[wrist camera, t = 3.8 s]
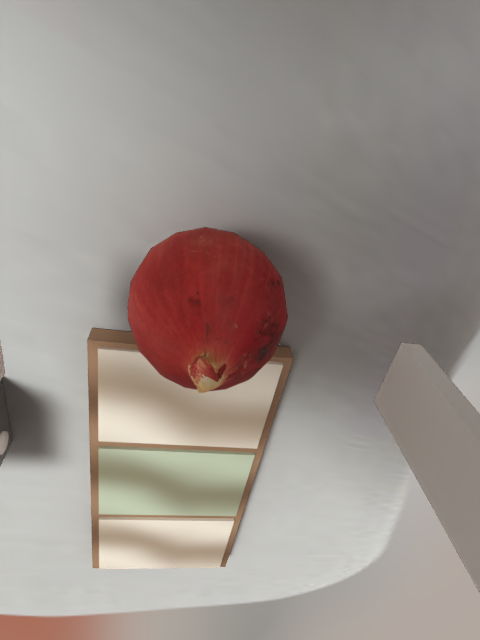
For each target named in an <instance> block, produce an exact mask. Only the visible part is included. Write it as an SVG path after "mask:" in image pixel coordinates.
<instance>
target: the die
mask: <svg viewBox="0 0 480 640" xmlns="http://www.w3.org/2000/svg"><path fill="white" fill-rule="evenodd" d="M12 441H13V440H12V434H11V429H10V423H9V417H8V411H7V405H6V400H5V394H4V388H3V382H2V379H1V381H0V466H1V463H2V461H3V459H4V457H5V455H6V453H7V451H8V449H9V447H10V445H11V443H12Z"/></svg>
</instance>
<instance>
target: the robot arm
mask: <svg viewBox="0 0 480 640" xmlns="http://www.w3.org/2000/svg"><path fill="white" fill-rule="evenodd" d="M4 374H5V368H4V362H3V355H2V349H1V342H0V381H1V379H2V377H3V376H4ZM374 402H375V404H376V406H377V408H378V410H379V411H380V413H381V415H382V417H383V419H384V421H385V422H386V424H387V426H388V428H389V430H390V431H391V433H392V435H393V437H394V439H395V440H396V442H397V444H398V446H399V448H400V450H401V451H402V453H403V455H404V457H405V459H406V460H407V462H408V464H409V466H410V468H411V469H412V471H413V473H414V475H415V477H416V479H417V480H418V482H419V484H420V486H421V488H422V489H423V491H424V493H425V495H426V496H427V498H428V500H429V502H430V504H431V506H432V508H433V509H434V511H435V513H436V515H437V517H438V518H439V520H440V522H441V524H442V526H443V527H444V529H445V531H446V533H447V535H448V537H449V538H450V540H451V542H452V544H453V546H454V547H455V549H456V551H457V553H458V555H459V556H460V558H461V560H462V562H463V564H464V566H465V567H466V569H467V571H468V573H469V575H470V576H471V578H472V580H473V582H474V584H475V585H476V587H477V589H478V591H479V592H480V414H479V413H478V412H477V411H476V409H475V408H474V407H473V406H472V404H471V403H470V402H469V401H468V400H467V399H466V397H465V396H464V395H463V394H462V393H461V391H460V390H459V389H458V388H457V387H456V386H455V384H454V383H453V382H452V381H451V380H450V378H449V377H448V376H447V375H446V374H445V373H444V371H443V370H442V369H441V368H440V367H439V365H438V364H437V363H436V362H435V361H434V360H433V358H432V357H431V356H430V355H429V354H428V352H427V351H426V350H425V349H424V348H423V346H422V345H418V344H409V343H401V345H400V347H399V349H398V351H397V353H396V355H395V357H394V359H393V361H392V364H391V366H390V368H389V370H388V372H387V374H386V376H385V378H384V380H383V382H382V384H381V386H380V389H379V391H378V393H377V395H376V397H375V399H374Z"/></svg>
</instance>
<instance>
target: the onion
mask: <svg viewBox="0 0 480 640" xmlns="http://www.w3.org/2000/svg"><path fill="white" fill-rule="evenodd" d="M287 318H288V316H287V308H286V301H285V293H284V286H283V281H282V277H281V276H280V274H279V273H278V271H277V270H276V269H275V267H274V266H273V264H272V263H271V262H270V260H269V259H268V257H267V256H266V255H265V253H264V252H262V251H261V250H260V249H258V248H257V247H255V246H254V245H252V244H251V243H249V242H248V241H246V240H244V239H243V238H241V237H240V236H238V235H237V234H235V233H232V232H227V231H222V230H217V229H212V228H207V227H204V228H199V229H194V230H189V231H183V232H178V233H175V234H174V235H172V236H170V237H169V238H167V239H165V240H164V241H162V242H161V243H159V244H157V245H156V246H154V247H152V248H151V249H150V251H149V252H148V254H147V256H146V257H145V259H144V260H143V262H142V263H141V265H140V266H139V268H138V270H137V271H136V273H135V275H134V277H133V279H132V281H131V284H130V292H129V301H128V320H129V323H130V326H131V329H132V332H133V335H134V338H135V341H136V344H137V347H138V349H139V352H140V353H141V354H142V355H143V356H144V357H145V358H146V359H147V360H148V361H149V362H150V364H151V365H152V366H153V367H154V368H155V369H156V370H157V372H158V373H159V374H160V375H161V376H163V377H164V378H166V379H168V380H170V381H172V382H174V383H176V384H178V385H180V386H182V387H184V388H189V389H195V390H198V392H199V393H205V392H208V391H216V390H225V389H228V388H230V387H233V386H235V385H238V384H240V383H243V382H245V381H248V380H249V379H251V378H252V377H253V376H254V375H255V374H256V373H257V372H258V371H259V370H260V369H261V368H262V367H263V366H264V365H265V364H266V363H267V362H268V361H269V360H270V359H271V358H272V356H273V355H274V354H275V351H276V349H277V346H278V344H279V341H280V339H281V336H282V334H283V331H284V328H285V326H286V322H287Z"/></svg>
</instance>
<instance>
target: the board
mask: <svg viewBox="0 0 480 640" xmlns="http://www.w3.org/2000/svg"><path fill="white" fill-rule="evenodd" d="M87 343H88V386H89V430H90V473H91V517H92V560H93V568H99V569H137V568H220V567H225V566H226V563H227V560H228V557H229V554H230V551H231V548H232V545H233V542H234V539H235V535H236V532H237V529H238V526H239V523H240V520H241V517H242V514H243V511H244V508H245V505H246V502H247V499H248V496H249V493H250V490H251V487H252V484H253V481H254V478H255V474H256V471H257V468H258V465H259V462H260V459H261V456H262V453H263V450H264V447H265V444H266V441H267V438H268V435H269V432H270V429H271V426H272V423H273V420H274V417H275V414H276V410H277V407H278V404H279V401H280V398H281V395H282V392H283V389H284V386H285V383H286V380H287V377H288V374H289V371H290V368H291V365H292V362H293V356H292V353H291V350H290V347H284V346H277V349H276V351H275V354H274V355H273V356H272V358H271V359H270V360H269V361H268V362H267V363H266V364H265V365H264V366H263V367H262V368H261V369H260V370H259V371H258V372H257V373H256V374H255V375H254V376H253V377H252V378H251V379H249V380H248V381H245V382H243V383H240V384H238V385H235V386H233V387H230V388H228V389H225V390H216V391H208V392H205V393H199V392H198V390H195V389H189V388H184V387H182V386H180V385H178V384H176V383H174V382H172V381H170V380H168V379H166V378H164V377H163V376H161V375H160V374H159V373H158V372H157V370H156V369H155V368H154V367H153V366H152V365H151V364H150V362H149V361H148V360H147V359H146V358H145V357H144V356H143V355H142V354H141V353H140V352H139V349H138V347H137V344H136V341H135V338H134V335H133V332H129V331H118V330H108V329H97V328H92V330H91V332H90V335H89V337H88V340H87Z"/></svg>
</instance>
